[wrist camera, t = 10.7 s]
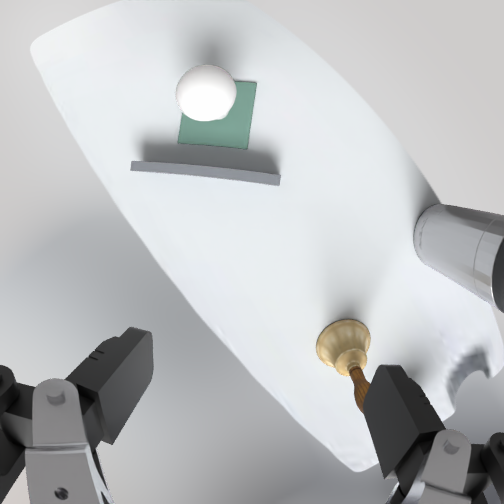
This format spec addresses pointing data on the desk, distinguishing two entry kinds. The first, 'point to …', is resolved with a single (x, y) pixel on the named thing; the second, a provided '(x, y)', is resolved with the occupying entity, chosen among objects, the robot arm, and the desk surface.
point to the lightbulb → (206, 93)
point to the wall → (207, 172)
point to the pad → (223, 123)
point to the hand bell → (347, 353)
